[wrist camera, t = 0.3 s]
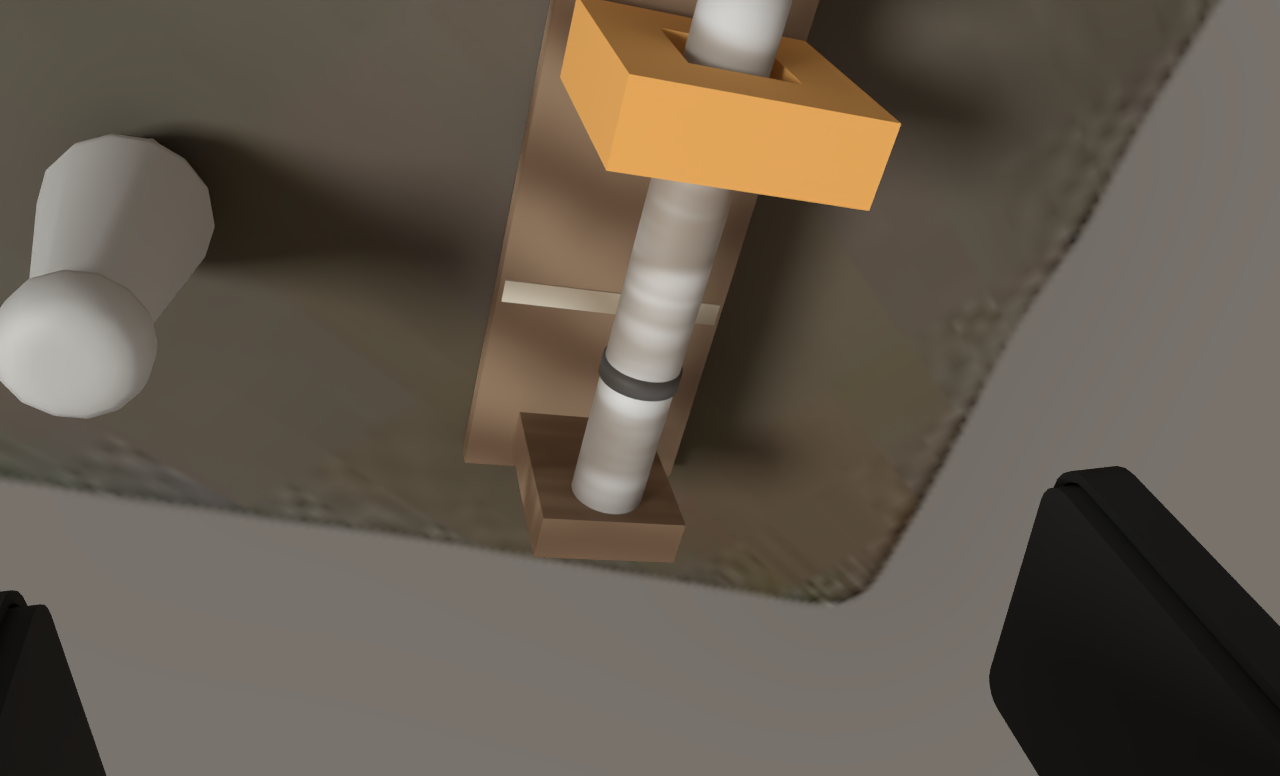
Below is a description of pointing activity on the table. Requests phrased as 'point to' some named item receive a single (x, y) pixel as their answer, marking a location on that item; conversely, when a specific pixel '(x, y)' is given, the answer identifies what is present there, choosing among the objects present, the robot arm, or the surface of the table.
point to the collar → (722, 112)
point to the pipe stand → (610, 305)
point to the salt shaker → (102, 274)
